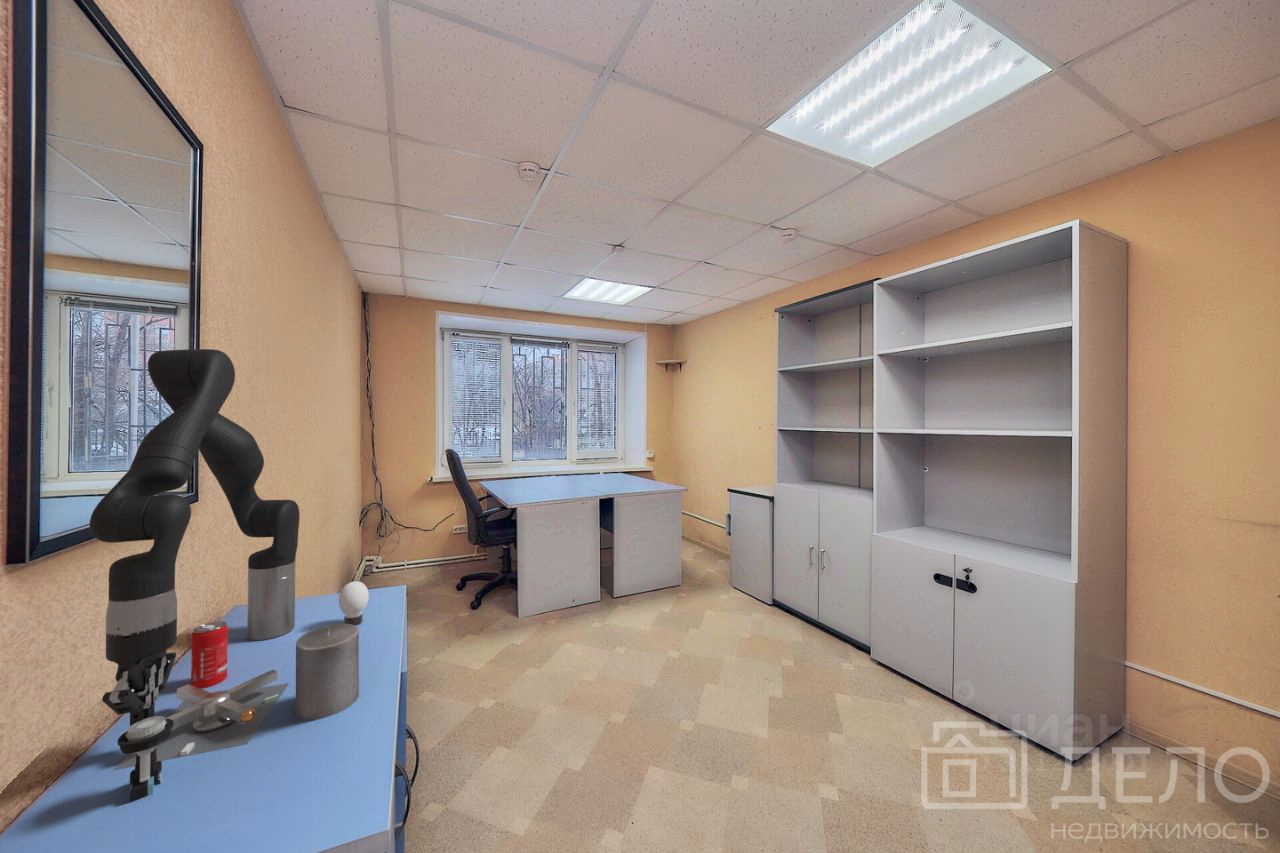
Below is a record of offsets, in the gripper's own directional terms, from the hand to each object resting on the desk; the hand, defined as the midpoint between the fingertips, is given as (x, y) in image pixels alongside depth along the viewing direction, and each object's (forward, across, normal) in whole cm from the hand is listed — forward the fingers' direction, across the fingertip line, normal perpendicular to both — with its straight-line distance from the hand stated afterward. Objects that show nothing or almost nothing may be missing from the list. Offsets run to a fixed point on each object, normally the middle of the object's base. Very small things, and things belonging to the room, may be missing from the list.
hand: (142, 729), depth 71 cm
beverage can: (+4, -20, 0) cm, 20 cm away
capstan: (+3, -5, +7) cm, 9 cm away
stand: (+4, -5, +7) cm, 9 cm away
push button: (+4, +10, +5) cm, 12 cm away
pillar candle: (+4, -4, +24) cm, 25 cm away
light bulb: (+4, -43, +20) cm, 47 cm away
